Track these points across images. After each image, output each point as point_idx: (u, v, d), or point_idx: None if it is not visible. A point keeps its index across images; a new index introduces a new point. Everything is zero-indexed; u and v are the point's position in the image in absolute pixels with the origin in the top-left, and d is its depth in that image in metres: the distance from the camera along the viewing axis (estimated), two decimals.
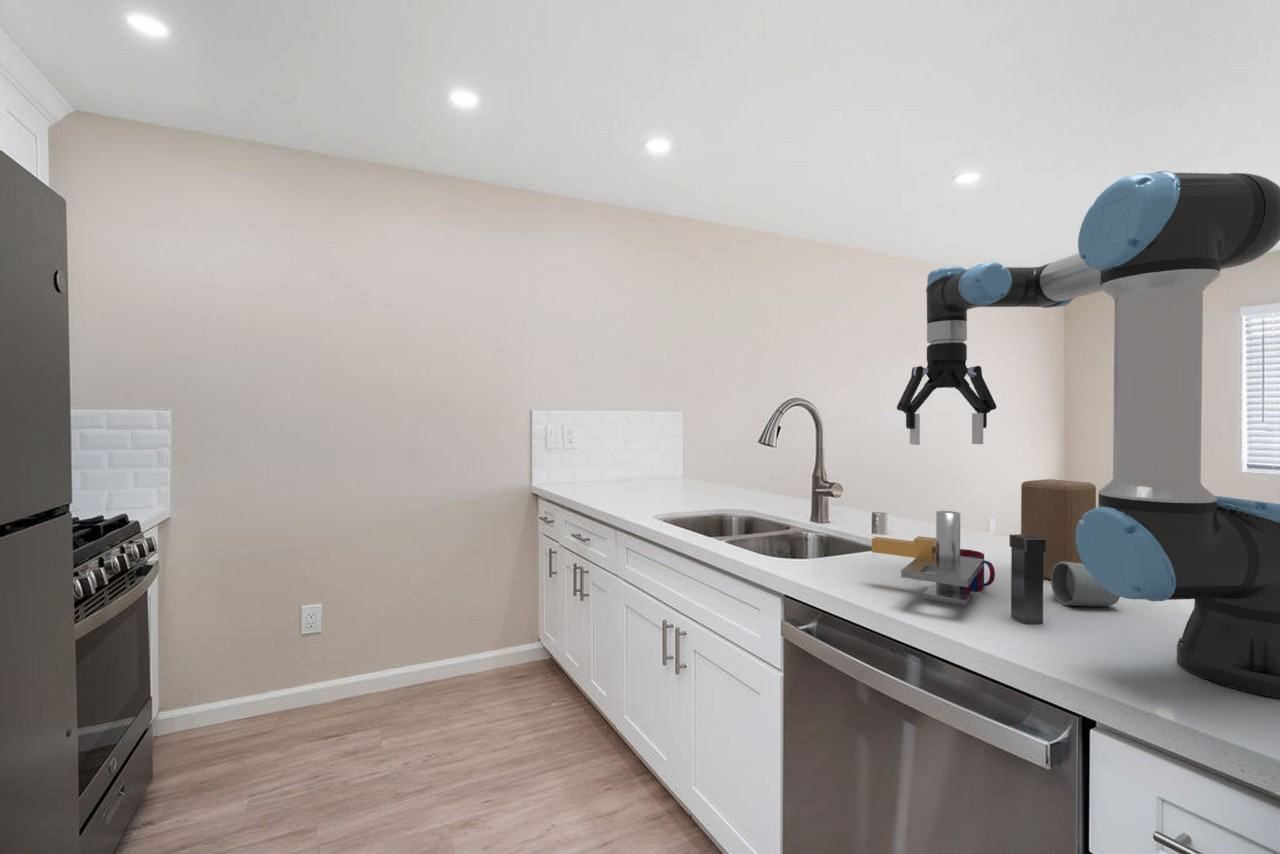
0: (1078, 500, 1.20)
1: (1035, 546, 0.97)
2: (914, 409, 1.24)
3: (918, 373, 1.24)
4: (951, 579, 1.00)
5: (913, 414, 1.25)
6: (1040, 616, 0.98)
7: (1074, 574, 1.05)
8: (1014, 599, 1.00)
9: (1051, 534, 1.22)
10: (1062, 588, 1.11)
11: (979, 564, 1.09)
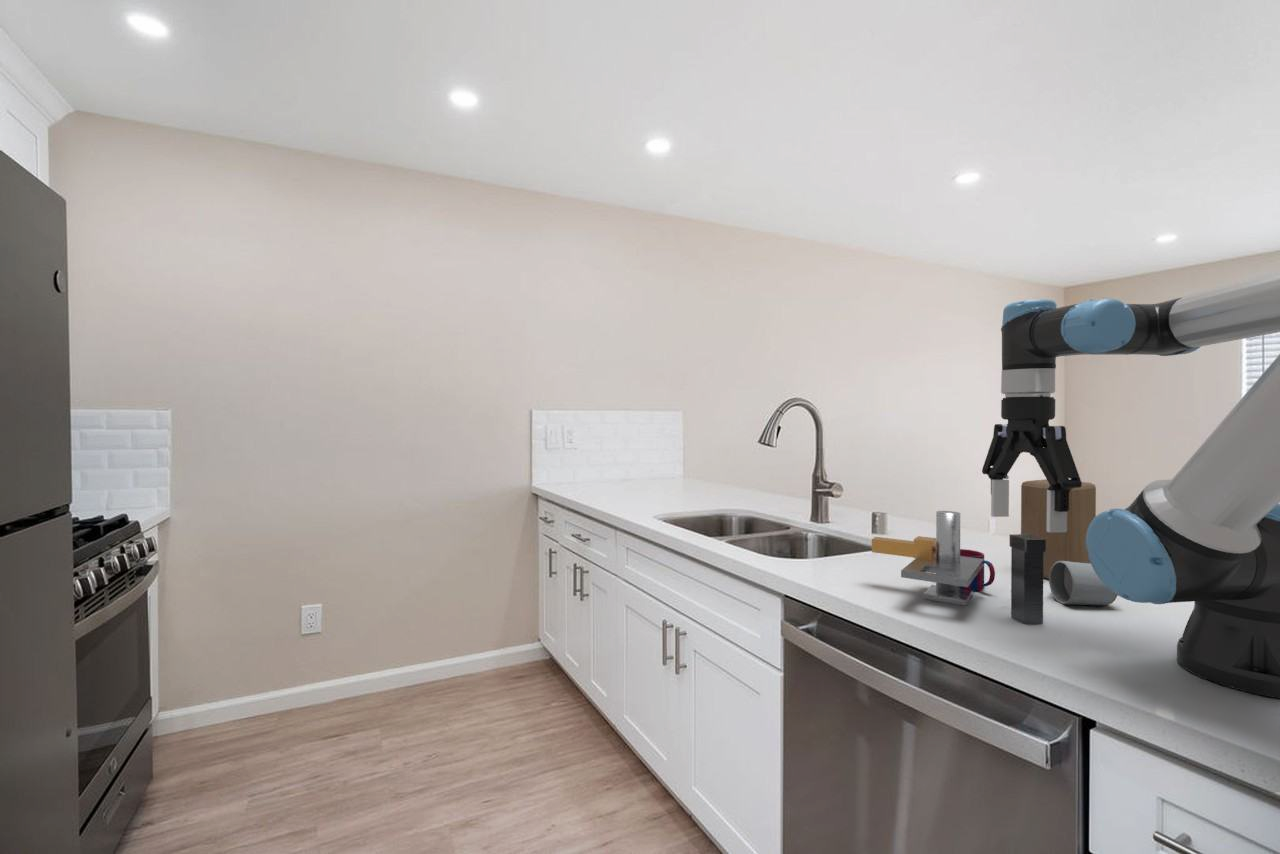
0: (1077, 500, 1.20)
1: (1035, 546, 0.97)
2: (990, 474, 1.07)
3: (994, 432, 1.06)
4: (951, 579, 1.00)
5: (994, 480, 1.07)
6: (1040, 616, 0.98)
7: (1072, 573, 1.05)
8: (1014, 599, 1.00)
9: (1050, 534, 1.22)
10: (1060, 587, 1.11)
11: (979, 564, 1.09)
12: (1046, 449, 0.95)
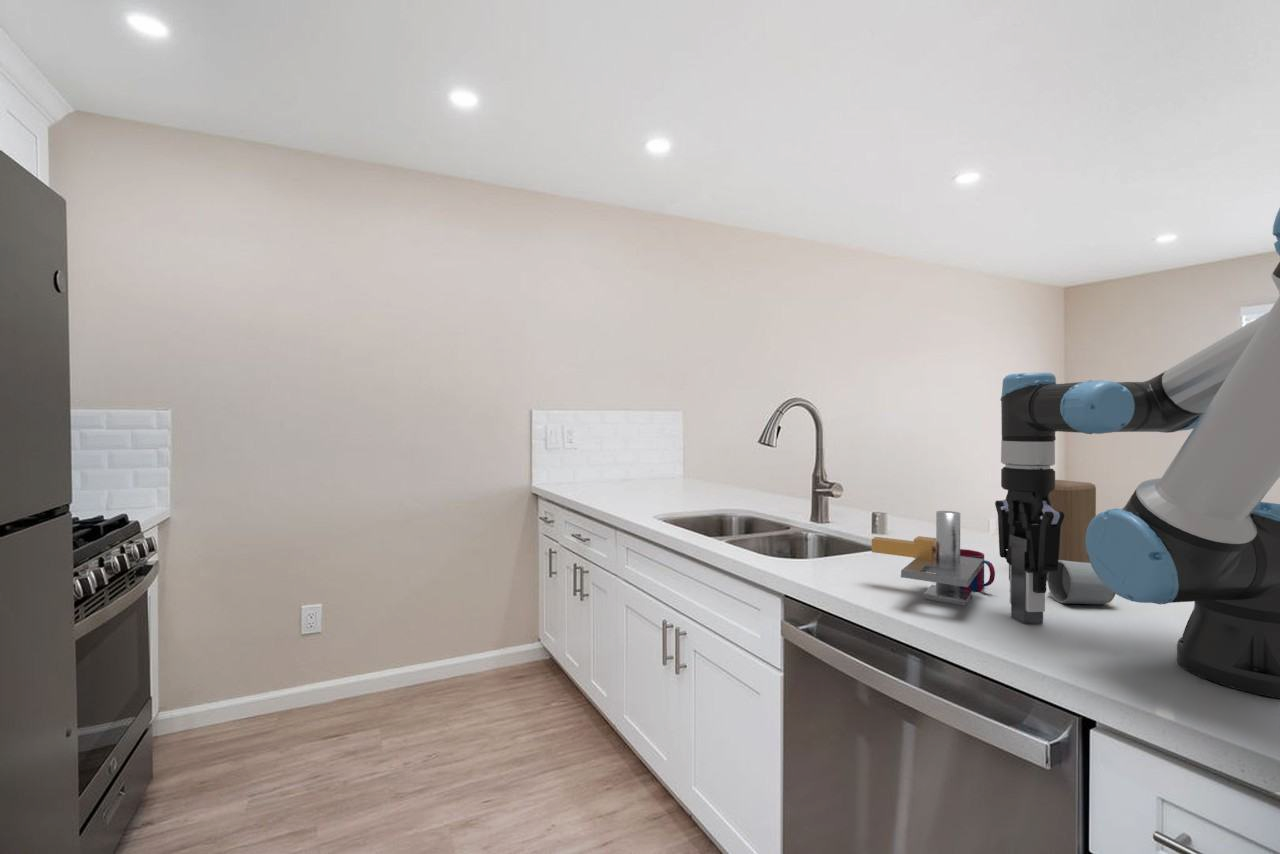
0: (1078, 500, 1.20)
1: None
2: (1008, 558, 1.02)
3: (997, 509, 1.05)
4: (951, 579, 1.00)
5: None
6: (1040, 616, 0.98)
7: (1070, 572, 1.06)
8: (1014, 599, 1.00)
9: None
10: (1058, 586, 1.12)
11: (979, 564, 1.09)
12: (1039, 527, 0.97)
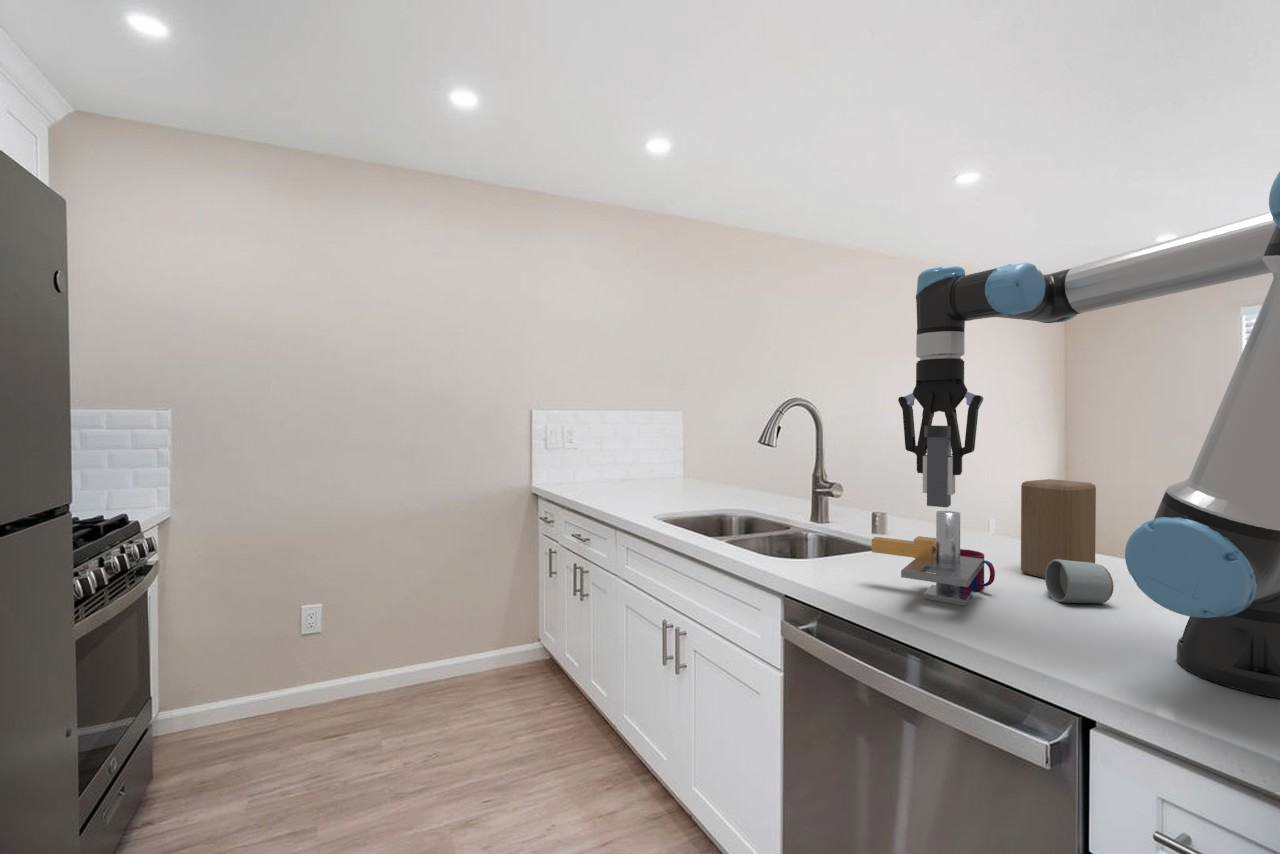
0: (1078, 500, 1.20)
1: None
2: (920, 450, 1.05)
3: (902, 405, 1.07)
4: (951, 579, 1.00)
5: (922, 456, 1.06)
6: (950, 498, 1.05)
7: (1067, 571, 1.07)
8: (931, 487, 1.04)
9: (1051, 534, 1.22)
10: (1056, 585, 1.12)
11: (979, 564, 1.09)
12: (955, 414, 1.03)
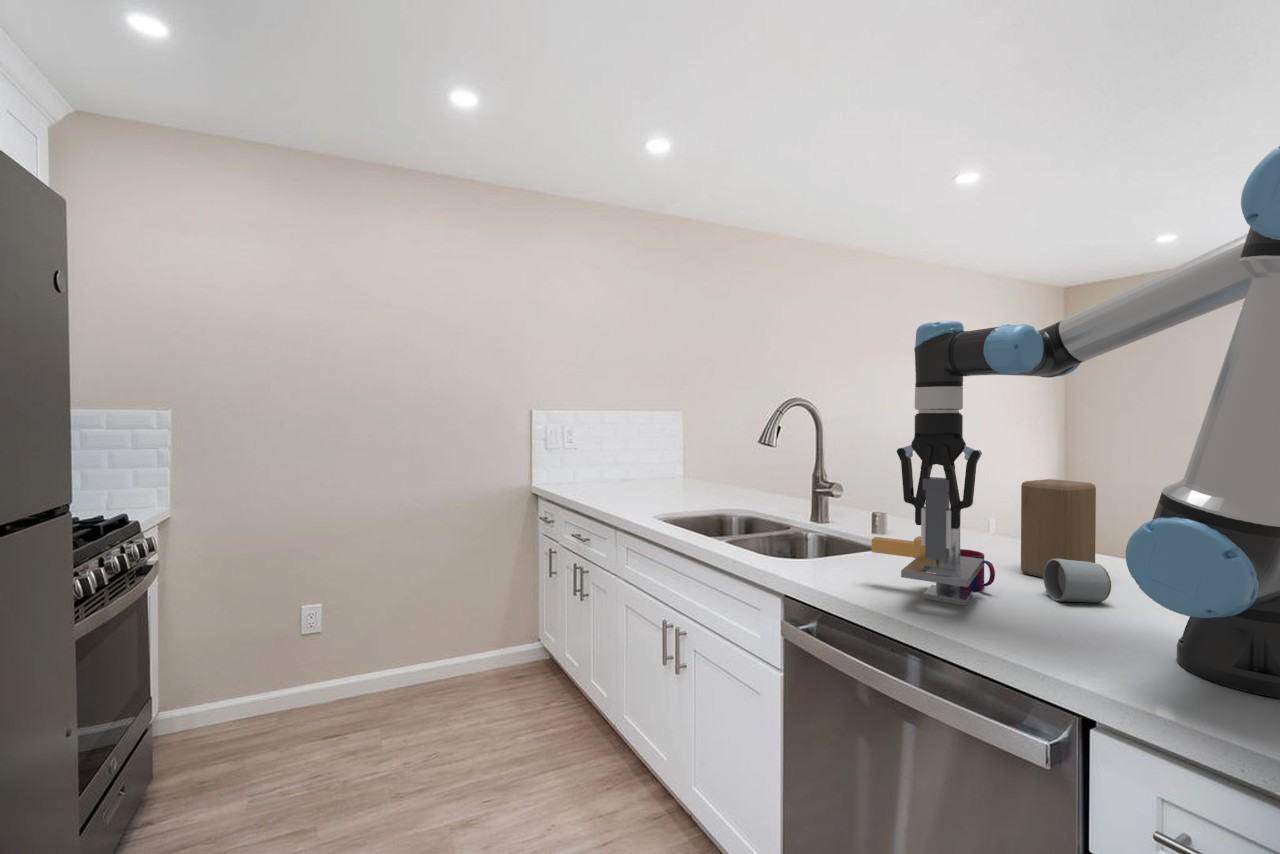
0: (1078, 500, 1.20)
1: None
2: (918, 502, 1.05)
3: (900, 457, 1.07)
4: (951, 579, 1.00)
5: (920, 508, 1.06)
6: (948, 551, 1.05)
7: (1065, 570, 1.07)
8: (930, 540, 1.04)
9: (1051, 534, 1.22)
10: (1054, 585, 1.13)
11: (979, 564, 1.09)
12: (953, 467, 1.03)
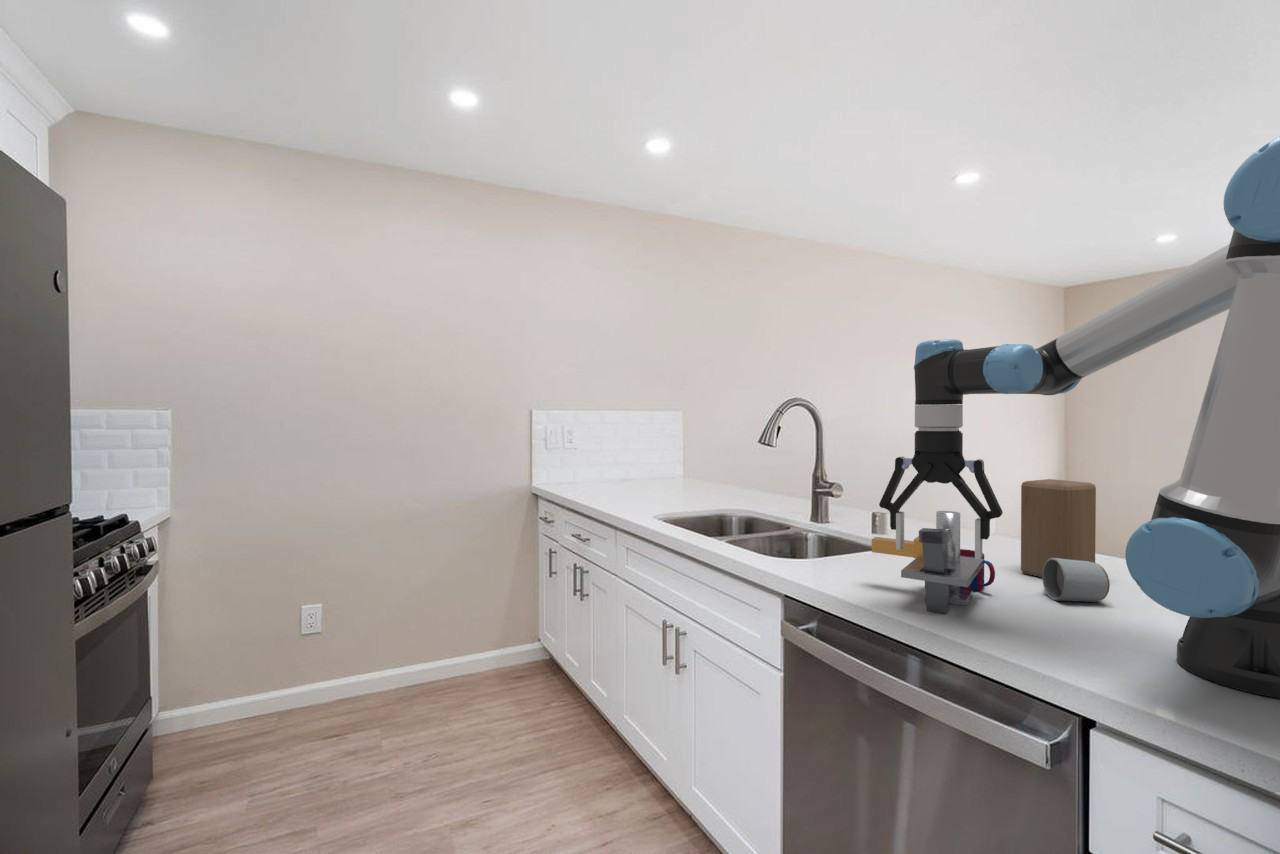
0: (1078, 500, 1.20)
1: (946, 537, 1.04)
2: (894, 508, 1.08)
3: (896, 465, 1.08)
4: (951, 579, 1.00)
5: (895, 513, 1.08)
6: (949, 602, 1.05)
7: (1063, 570, 1.08)
8: (930, 592, 1.04)
9: (1051, 534, 1.22)
10: (1053, 584, 1.13)
11: (979, 564, 1.09)
12: (962, 480, 1.03)
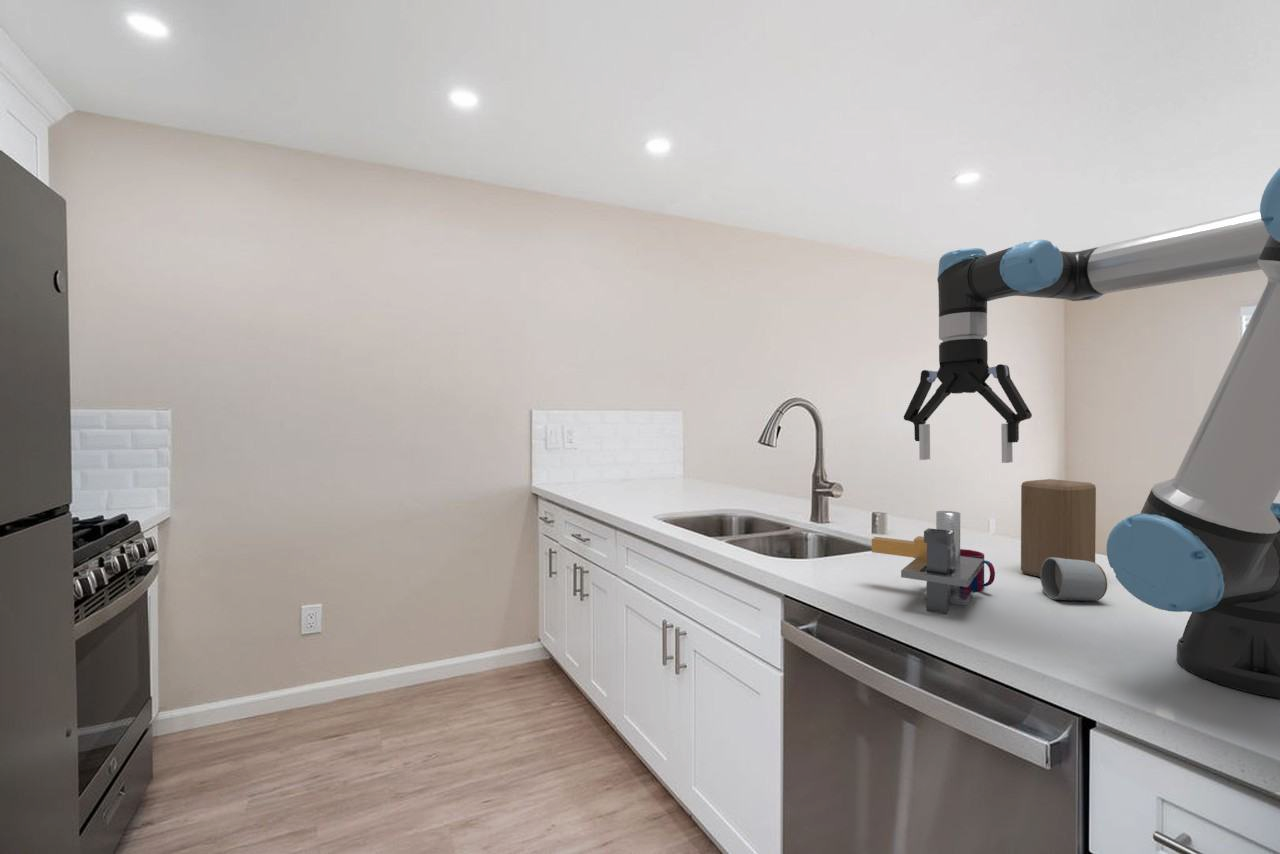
0: (1078, 500, 1.20)
1: (952, 539, 1.03)
2: (917, 419, 1.10)
3: (921, 378, 1.09)
4: (951, 579, 1.00)
5: (919, 425, 1.10)
6: (949, 603, 1.05)
7: (1061, 569, 1.08)
8: (931, 593, 1.04)
9: (1051, 534, 1.22)
10: (1051, 583, 1.14)
11: (979, 564, 1.09)
12: (988, 388, 1.02)
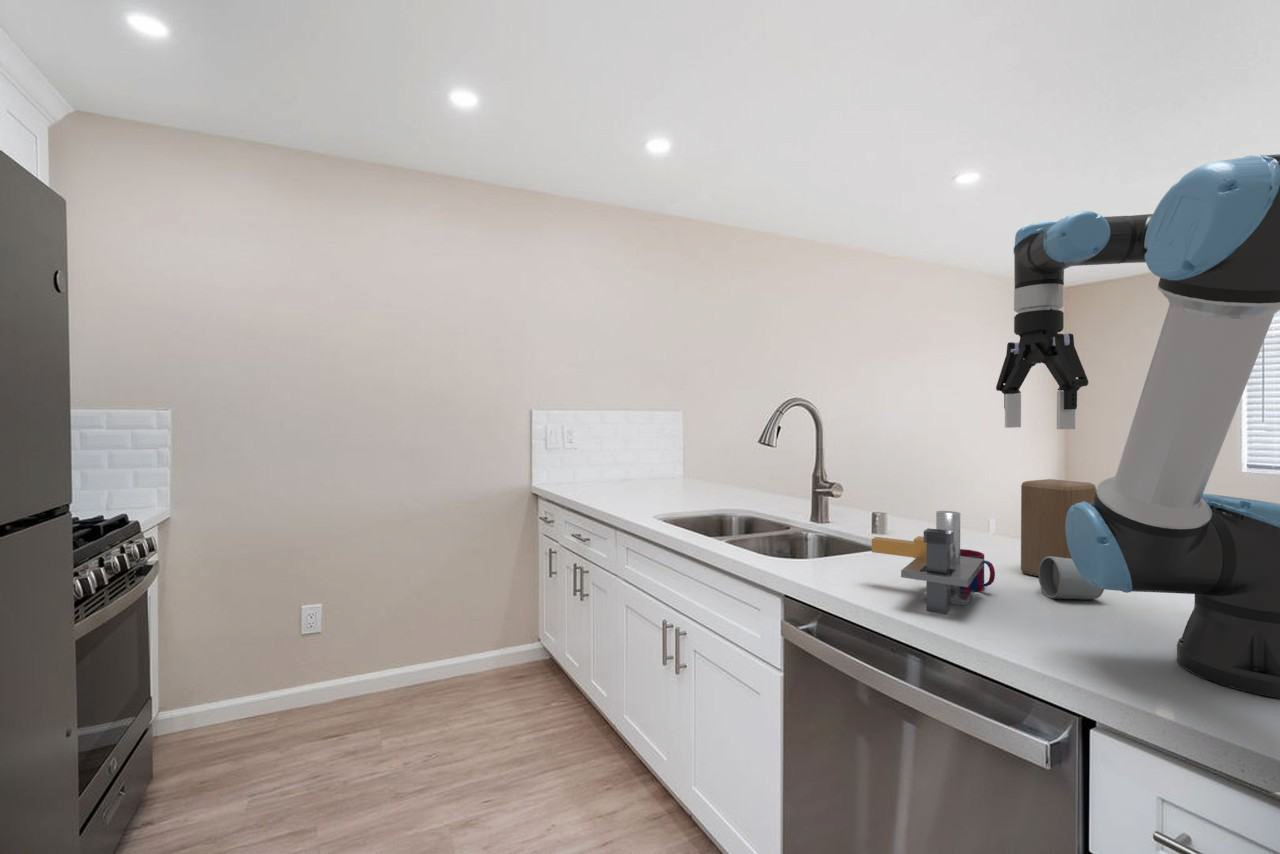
0: (1078, 500, 1.20)
1: (951, 538, 1.03)
2: (1004, 389, 1.17)
3: (1007, 350, 1.16)
4: (951, 579, 1.00)
5: None
6: (949, 603, 1.05)
7: (1059, 568, 1.09)
8: (931, 593, 1.04)
9: (1051, 534, 1.22)
10: (1049, 582, 1.15)
11: (979, 564, 1.09)
12: (1056, 357, 1.05)
